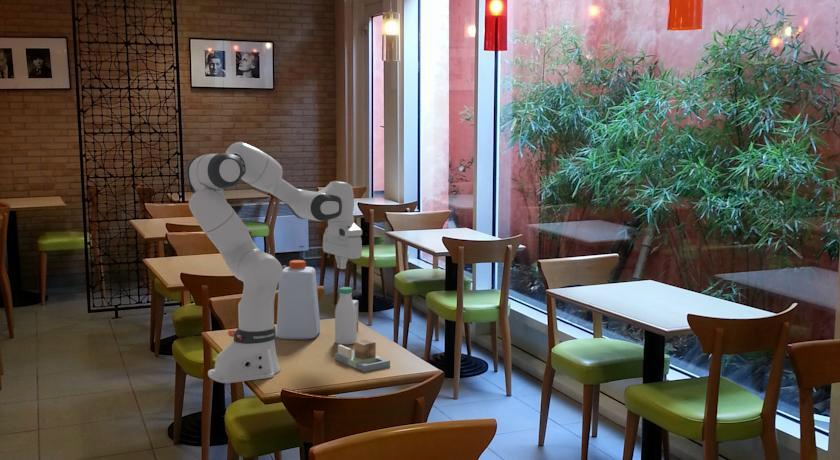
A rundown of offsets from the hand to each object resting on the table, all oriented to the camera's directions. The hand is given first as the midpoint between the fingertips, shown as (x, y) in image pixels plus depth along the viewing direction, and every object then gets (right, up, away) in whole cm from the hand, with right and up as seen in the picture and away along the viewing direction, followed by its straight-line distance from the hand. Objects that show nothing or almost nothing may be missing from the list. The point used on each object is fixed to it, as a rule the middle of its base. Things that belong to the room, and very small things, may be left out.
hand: (341, 268), depth 286 cm
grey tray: (+8, -31, -10) cm, 33 cm away
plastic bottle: (-18, -26, +25) cm, 41 cm away
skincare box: (+1, -26, +29) cm, 39 cm away
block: (+9, -29, -10) cm, 32 cm away
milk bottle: (0, -28, +15) cm, 31 cm away
